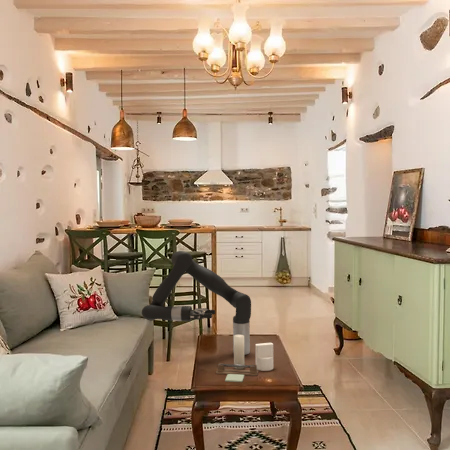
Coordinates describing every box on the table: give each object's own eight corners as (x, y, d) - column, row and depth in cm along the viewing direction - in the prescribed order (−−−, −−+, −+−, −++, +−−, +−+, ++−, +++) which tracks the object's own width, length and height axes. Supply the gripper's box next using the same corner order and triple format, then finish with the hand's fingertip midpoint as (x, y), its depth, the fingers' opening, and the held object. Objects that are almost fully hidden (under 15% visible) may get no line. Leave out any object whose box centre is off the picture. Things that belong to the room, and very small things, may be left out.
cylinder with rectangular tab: (259, 371, 226) (258, 347, 226) (253, 365, 235) (252, 342, 234) (276, 369, 228) (276, 345, 228) (269, 364, 237) (269, 340, 237)
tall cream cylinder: (234, 365, 235) (234, 334, 235) (245, 365, 234) (244, 334, 234) (233, 368, 230) (233, 337, 230) (243, 369, 229) (243, 337, 229)
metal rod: (218, 365, 226) (218, 363, 226) (254, 367, 224) (254, 365, 223) (218, 366, 225) (218, 364, 225) (254, 368, 222) (254, 365, 222)
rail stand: (217, 370, 229) (217, 362, 228) (258, 372, 225) (257, 364, 225) (216, 373, 224) (215, 365, 223) (257, 375, 220) (256, 367, 220)
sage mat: (227, 375, 222) (227, 373, 222) (244, 375, 220) (244, 374, 220) (225, 381, 214) (225, 379, 214) (242, 382, 212) (242, 380, 212)
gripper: (178, 309, 224) (210, 309, 222) (185, 303, 238) (215, 303, 236) (178, 324, 225) (211, 325, 222) (185, 317, 239) (216, 318, 236)
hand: (213, 314), depth 229 cm, fingers open, 8 cm apart
